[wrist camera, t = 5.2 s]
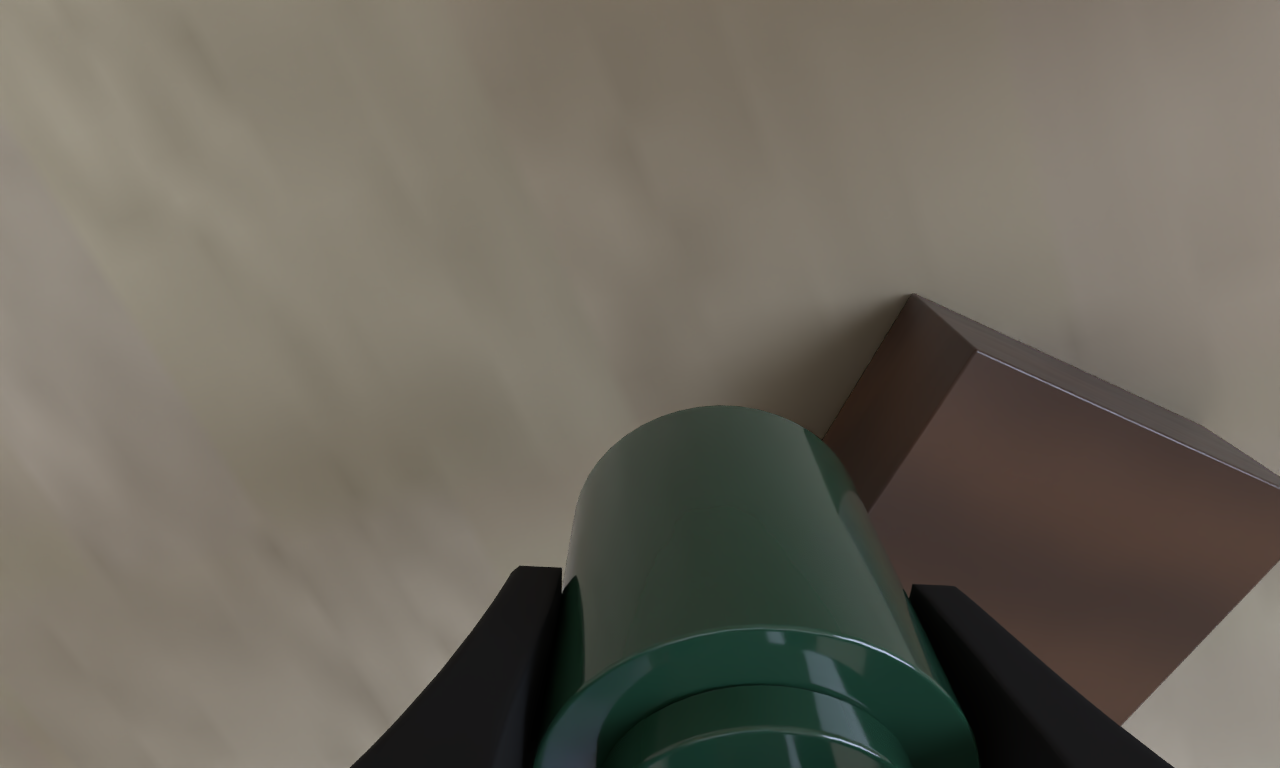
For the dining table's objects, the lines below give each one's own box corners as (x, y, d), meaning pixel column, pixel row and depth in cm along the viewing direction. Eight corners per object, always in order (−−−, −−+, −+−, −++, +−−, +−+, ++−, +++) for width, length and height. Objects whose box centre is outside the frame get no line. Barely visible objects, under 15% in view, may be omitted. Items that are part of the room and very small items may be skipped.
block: (1005, 664, 23) (1072, 778, 19) (745, 564, 22) (764, 666, 18) (1204, 426, 20) (1330, 509, 16) (911, 291, 18) (976, 349, 15)
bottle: (713, 687, 14) (776, 1332, 7) (514, 536, 13) (341, 1135, 6) (920, 531, 13) (1270, 1143, 6) (719, 343, 12) (833, 820, 4)
